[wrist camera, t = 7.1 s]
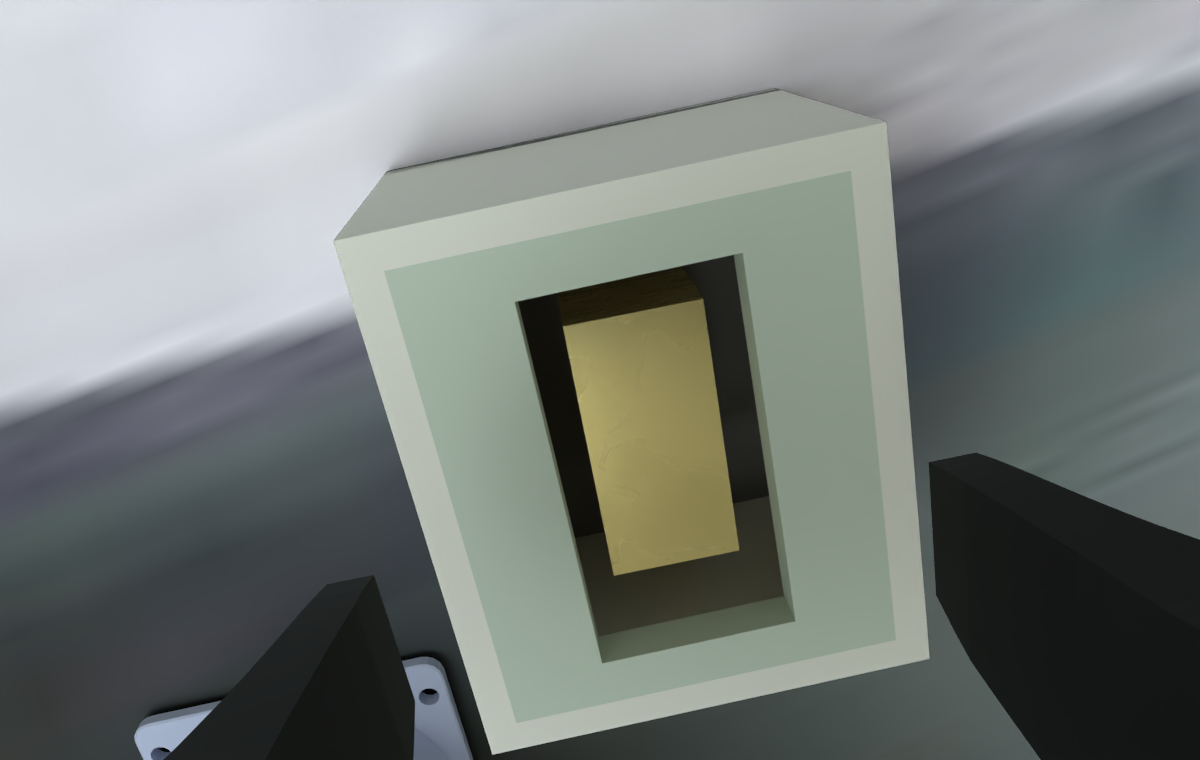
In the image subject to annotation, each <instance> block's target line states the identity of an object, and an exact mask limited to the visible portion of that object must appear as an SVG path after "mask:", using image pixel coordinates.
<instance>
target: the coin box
mask: <svg viewBox="0 0 1200 760" xmlns="http://www.w3.org/2000/svg"><path fill="white" fill-rule="evenodd" d="M333 243H334V246H335V249H336V252H337V255H338V259H339V262H340V265H341V268H342V272H343V275H344V278H345V281H346V284H347V288H348V291H349V294H350V297H351V301H352V304H353V307H354V310H355V313H356V317H357V320H358V323H359V326H360V330H361V333H362V336H363V339H364V343H365V346H366V349H367V352H368V355H369V359H370V362H371V365H372V368H373V372H374V375H375V378H376V381H377V384H378V388H379V391H380V394H381V397H382V401H383V404H384V407H385V410H386V413H387V417H388V420H389V423H390V426H391V430H392V433H393V436H394V439H395V442H396V446H397V449H398V452H399V455H400V459H401V462H402V465H403V468H404V471H405V475H406V478H407V481H408V484H409V488H410V491H411V494H412V497H413V500H414V504H415V507H416V510H417V513H418V517H419V520H420V523H421V526H422V529H423V533H424V536H425V539H426V542H427V546H428V549H429V552H430V555H431V558H432V562H433V565H434V568H435V571H436V575H437V578H438V581H439V584H440V587H441V591H442V594H443V597H444V600H445V604H446V607H447V610H448V613H449V617H450V620H451V623H452V626H453V629H454V633H455V636H456V639H457V642H458V646H459V649H460V652H461V655H462V658H463V662H464V665H465V668H466V671H467V675H468V678H469V681H470V684H471V687H472V691H473V694H474V697H475V700H476V704H477V707H478V710H479V713H480V716H481V720H482V723H483V726H484V729H485V733H486V736H487V739H488V742H489V745H490V749H491V752H492V755H494V754H498V753H503V752H507V751H512V750H517V749H521V748H526V747H530V746H535V745H539V744H544V743H548V742H553V741H558V740H562V739H567V738H571V737H576V736H580V735H585V734H589V733H594V732H598V731H603V730H608V729H612V728H617V727H621V726H626V725H630V724H635V723H639V722H644V721H649V720H653V719H658V718H662V717H667V716H671V715H676V714H680V713H685V712H690V711H694V710H699V709H703V708H708V707H712V706H717V705H721V704H726V703H731V702H735V701H740V700H744V699H749V698H753V697H758V696H762V695H767V694H772V693H776V692H781V691H785V690H790V689H794V688H799V687H803V686H808V685H813V684H817V683H822V682H826V681H831V680H835V679H840V678H844V677H849V676H854V675H858V674H863V673H867V672H872V671H876V670H881V669H885V668H890V667H895V666H899V665H904V664H908V663H913V662H917V661H922V660H926V659H930V658H929V646H928V633H927V621H926V609H925V596H924V584H923V571H922V559H921V546H920V534H919V521H918V509H917V496H916V484H915V471H914V459H913V447H912V434H911V422H910V409H909V397H908V384H907V372H906V359H905V347H904V334H903V322H902V309H901V297H900V285H899V272H898V260H897V247H896V235H895V222H894V210H893V197H892V185H891V172H890V160H889V147H888V135H887V122H884V121H881V120H878V119H874V118H871V117H868V116H864V115H861V114H858V113H855V112H851V111H848V110H845V109H841V108H838V107H835V106H831V105H828V104H825V103H822V102H818V101H815V100H812V99H808V98H805V97H802V96H798V95H795V94H792V93H789V92H785V91H782V90H779V89H775V88H773V89H768V90H764V91H759V92H754V93H750V94H745V95H740V96H736V97H731V98H726V99H722V100H717V101H712V102H708V103H703V104H698V105H694V106H689V107H684V108H680V109H675V110H670V111H666V112H661V113H656V114H652V115H647V116H642V117H638V118H633V119H628V120H624V121H619V122H614V123H610V124H605V125H600V126H596V127H591V128H586V129H582V130H577V131H572V132H568V133H563V134H558V135H554V136H549V137H544V138H540V139H535V140H530V141H526V142H521V143H516V144H512V145H507V146H502V147H498V148H493V149H488V150H484V151H479V152H474V153H470V154H465V155H460V156H456V157H451V158H446V159H442V160H437V161H432V162H428V163H423V164H419V165H414V166H409V167H405V168H400V169H395V170H391V171H387V172H386V173H385V174H384V176H383V177H382V178H381V179H380V181H379V182H378V183H377V185H376V186H375V187H374V189H373V190H372V191H371V192H370V194H369V195H368V196H367V198H366V199H365V200H364V202H363V203H362V204H361V205H360V207H359V208H358V209H357V211H356V212H355V213H354V215H353V216H352V217H351V218H350V220H349V221H348V222H347V224H346V225H345V226H344V228H343V229H342V230H341V231H340V233H339V234H338V235H337V237H336V238H335V239H334V240H333ZM679 266H682V267H683V269H684V270H685V272H686V273H687V275H688V276H689V278H690V279H691V281H692V283H693V284H694V286H695V287H696V289H697V290H698V292H699V293H700V295H701V296H702V298H703V301H704V308H705V315H706V322H707V329H708V336H709V342H710V349H711V356H712V363H713V370H714V377H715V384H716V391H717V398H718V405H719V412H720V419H721V426H722V433H723V440H724V447H725V454H726V461H727V468H728V474H729V481H730V488H731V495H732V502H733V509H734V516H735V523H736V530H737V537H738V544H739V551H734V552H729V553H724V554H719V555H714V556H709V557H704V558H699V559H694V560H689V561H684V562H680V563H675V564H670V565H665V566H660V567H655V568H650V569H645V570H640V571H635V572H630V573H625V574H620V575H615V576H614V574H613V569H612V564H611V559H610V554H609V550H608V545H607V540H606V535H605V530H604V525H603V520H602V515H601V511H600V506H599V501H598V496H597V491H596V486H595V481H594V476H593V471H592V467H591V462H590V457H589V452H588V447H587V442H586V437H585V432H584V428H583V423H582V418H581V413H580V408H579V403H578V398H577V393H576V388H575V384H574V379H573V374H572V369H571V364H570V359H569V354H568V349H567V345H566V340H565V335H564V330H563V325H562V318H561V312H560V306H559V300H558V293H559V292H563V291H568V290H572V289H577V288H582V287H586V286H591V285H596V284H600V283H605V282H610V281H614V280H619V279H623V278H628V277H633V276H637V275H642V274H647V273H651V272H656V271H661V270H665V269H670V268H674V267H679Z"/></svg>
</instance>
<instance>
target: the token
mask: <svg viewBox="0 0 1200 760" xmlns="http://www.w3.org/2000/svg"><path fill="white" fill-rule="evenodd" d="M558 300H559V306H560V312H561V318H562V325H563V330H564V335H565V340H566V345H567V349H568V354H569V359H570V364H571V369H572V374H573V379H574V384H575V388H576V393H577V398H578V403H579V408H580V413H581V418H582V423H583V428H584V432H585V437H586V442H587V447H588V452H589V457H590V462H591V467H592V471H593V476H594V481H595V486H596V491H597V496H598V501H599V506H600V511H601V515H602V520H603V525H604V530H605V535H606V540H607V545H608V550H609V554H610V559H611V564H612V569H613V574H614V576H615V575H620V574H625V573H630V572H635V571H640V570H645V569H650V568H655V567H660V566H665V565H670V564H675V563H680V562H684V561H689V560H694V559H699V558H704V557H709V556H714V555H719V554H724V553H729V552H734V551H739V544H738V537H737V530H736V523H735V516H734V509H733V502H732V495H731V488H730V481H729V474H728V468H727V461H726V454H725V447H724V440H723V433H722V426H721V419H720V412H719V405H718V398H717V391H716V384H715V377H714V370H713V363H712V356H711V349H710V342H709V336H708V329H707V322H706V315H705V308H704V301H703V298H702V296H701V295H700V293H699V292H698V290H697V289H696V287H695V286H694V284H693V283H692V281H691V279H690V278H689V276H688V275H687V273H686V272H685V270H684V269H683V267H682V266H679V267H674V268H670V269H665V270H661V271H656V272H651V273H647V274H642V275H637V276H633V277H628V278H623V279H619V280H614V281H610V282H605V283H600V284H596V285H591V286H586V287H582V288H577V289H572V290H568V291H563V292H559V293H558Z"/></svg>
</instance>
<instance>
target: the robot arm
mask: <svg viewBox="0 0 1200 760" xmlns="http://www.w3.org/2000/svg"><path fill="white" fill-rule="evenodd" d="M929 474H930V492H931V510H932V527H933V545H934V563H935V581H936V595H937V597H938V599H939V601H940V603H941V605H942V607H943V609H944V611H945V613H946V615H947V617H948V619H949V621H950V623H951V625H952V627H953V629H954V631H955V633H956V634H957V636H958V638H959V640H960V642H961V644H962V646H963V647H964V649H965V651H966V653H967V655H968V657H969V658H970V660H971V662H972V663H973V665H974V666H975V668H976V669H977V670H978V672H979V673H980V675H981V676H982V678H983V679H984V681H985V682H986V683H987V685H988V686H989V688H990V689H991V690H992V692H993V693H994V695H995V696H996V698H997V699H998V700H999V702H1000V703H1001V705H1002V706H1003V708H1004V709H1005V710H1006V712H1007V713H1008V715H1009V716H1010V717H1011V719H1012V720H1013V722H1014V723H1015V724H1016V726H1017V727H1018V728H1019V730H1020V731H1021V733H1022V734H1023V735H1024V737H1025V738H1026V740H1027V741H1028V742H1029V744H1030V745H1031V747H1032V748H1033V749H1034V751H1035V752H1036V754H1037V755H1038V756H1039V758H1040V759H1041V760H1200V540H1199V539H1196V538H1193V537H1190V536H1187V535H1184V534H1181V533H1179V532H1176V531H1173V530H1170V529H1167V528H1164V527H1162V526H1159V525H1156V524H1153V523H1151V522H1148V521H1145V520H1143V519H1140V518H1137V517H1135V516H1132V515H1130V514H1127V513H1124V512H1122V511H1119V510H1117V509H1114V508H1112V507H1109V506H1107V505H1104V504H1102V503H1099V502H1097V501H1095V500H1092V499H1090V498H1087V497H1085V496H1082V495H1080V494H1078V493H1075V492H1073V491H1070V490H1068V489H1066V488H1063V487H1061V486H1059V485H1056V484H1054V483H1051V482H1049V481H1047V480H1044V479H1042V478H1040V477H1037V476H1035V475H1033V474H1030V473H1028V472H1025V471H1023V470H1021V469H1018V468H1016V467H1013V466H1011V465H1008V464H1006V463H1003V462H1001V461H998V460H996V459H993V458H990V457H987V456H984V455H981V454H978V453H972V454H967V455H962V456H958V457H953V458H948V459H943V460H938V461H933V462H929ZM424 689H434V690H436V691H437V692H438V693H435V694H433V695H427V694H425V693H423V692H422V690H424ZM134 738H135V743H136V745H137V747H138V749H139V751H140V753H141V755H142V757H143V759H144V760H473V757H472V754H471V751H470V748H469V745H468V741H467V738H466V735H465V732H464V729H463V726H462V723H461V720H460V717H459V713H458V710H457V707H456V704H455V701H454V698H453V695H452V692H451V688H450V685H449V682H448V679H447V676H446V673H445V670H444V667H443V666H442V664H441V663H440V662H439V661H437V660H436V659H434V658H431V657H418V658H414V659H409V660H404V661H402V660H401V656H400V653H399V650H398V647H397V644H396V641H395V638H394V635H393V632H392V629H391V626H390V623H389V620H388V617H387V614H386V611H385V608H384V605H383V602H382V599H381V596H380V593H379V590H378V587H377V583H376V580H375V577H374V575H372V576H367V577H362V578H357V579H352V580H347V581H342V582H337V583H332V584H327V585H326V586H325V587H324V588H323V589H322V590H321V591H320V592H319V593H318V594H317V595H316V596H315V597H314V598H313V599H312V600H311V602H310V603H309V604H308V605H307V606H306V607H305V608H304V609H303V611H302V612H301V613H300V614H299V615H298V616H297V617H296V619H295V620H294V621H293V622H292V623H291V624H290V625H289V627H288V628H287V629H286V630H285V631H284V632H283V633H282V635H281V636H280V637H279V638H278V639H277V640H276V641H275V643H274V644H273V645H272V646H271V647H270V648H269V649H268V650H267V652H266V653H265V654H264V655H263V656H262V657H261V658H260V659H259V661H258V662H257V663H256V664H255V665H254V666H253V667H252V668H251V670H250V671H249V672H248V673H247V674H246V675H245V676H244V677H243V679H242V680H241V681H240V682H239V683H238V684H237V685H236V686H235V687H234V688H233V690H232V691H231V692H230V693H229V694H228V695H227V696H226V697H225V698H224V699H223V700H221V701H217V702H212V703H208V704H203V705H198V706H194V707H189V708H185V709H180V710H176V711H171V712H166V713H162V714H157V715H153V716H150V717H147V718H145V719H144V720H143V721H142V722H141V723H140V725H139V727H138V729H137V730H136V733H135V736H134ZM157 747H164V748H166V749H168V750H169V751H170V752H163V751H161V750H159V749H158V748H157Z"/></svg>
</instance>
